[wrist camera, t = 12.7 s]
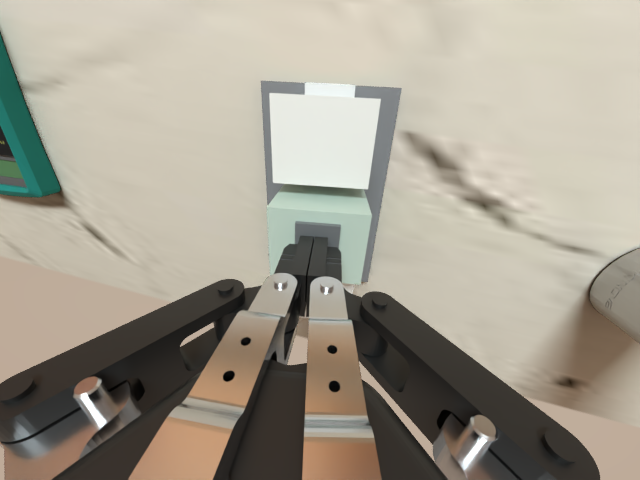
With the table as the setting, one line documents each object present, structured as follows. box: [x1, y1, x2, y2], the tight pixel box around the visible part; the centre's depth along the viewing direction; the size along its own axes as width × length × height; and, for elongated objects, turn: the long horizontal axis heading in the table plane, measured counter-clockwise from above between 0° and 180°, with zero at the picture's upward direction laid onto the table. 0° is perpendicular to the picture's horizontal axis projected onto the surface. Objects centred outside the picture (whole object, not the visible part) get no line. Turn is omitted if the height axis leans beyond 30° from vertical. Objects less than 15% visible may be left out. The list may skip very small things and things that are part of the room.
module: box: [267, 184, 372, 285], centre depth 17 cm, size 6×4×8 cm
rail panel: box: [261, 81, 402, 318], centre depth 19 cm, size 10×17×8 cm, turn 177°
